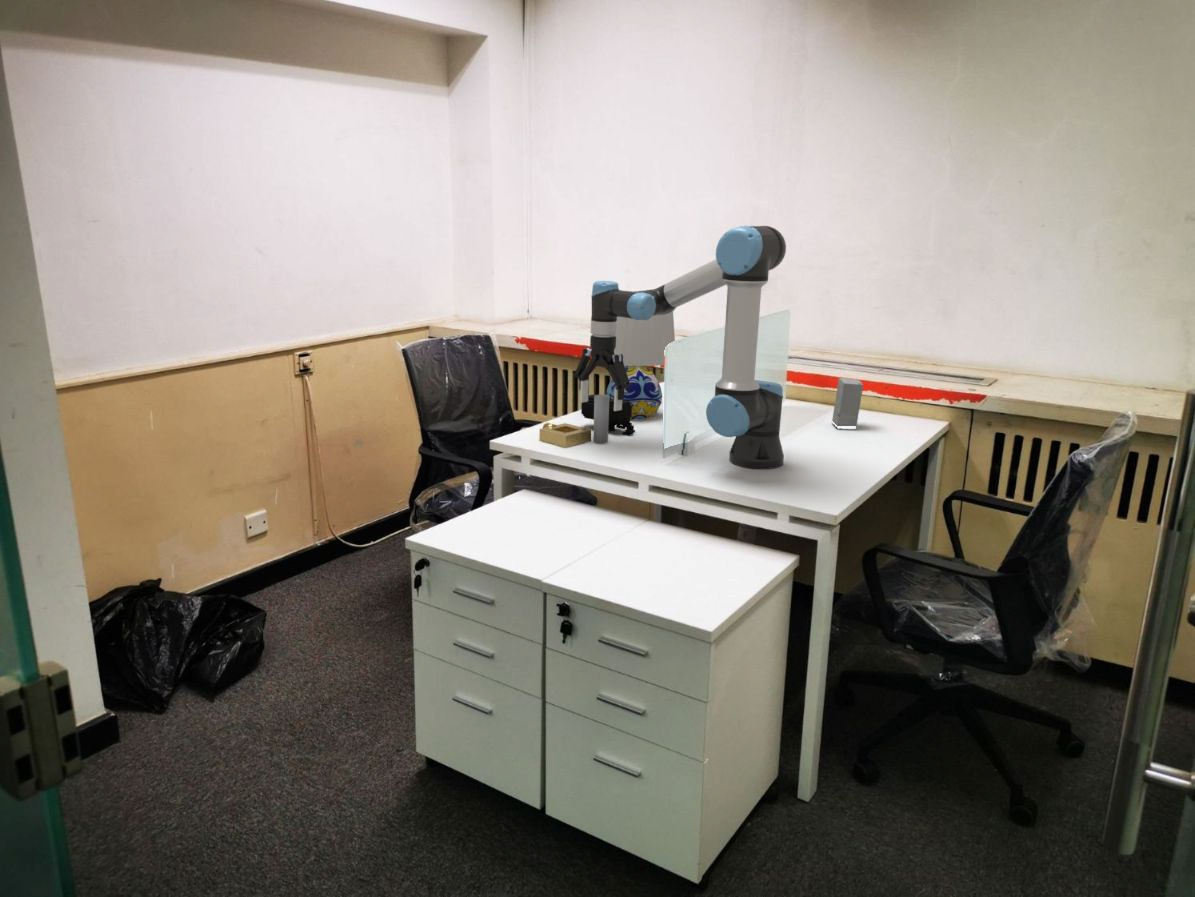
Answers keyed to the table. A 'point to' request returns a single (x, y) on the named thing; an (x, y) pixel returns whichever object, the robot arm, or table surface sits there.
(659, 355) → the table lamp
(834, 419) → the skincare box
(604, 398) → the grey rounded cylinder
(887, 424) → the table surface
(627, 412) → the security camera
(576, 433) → the gold square frame
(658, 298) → the robot arm
